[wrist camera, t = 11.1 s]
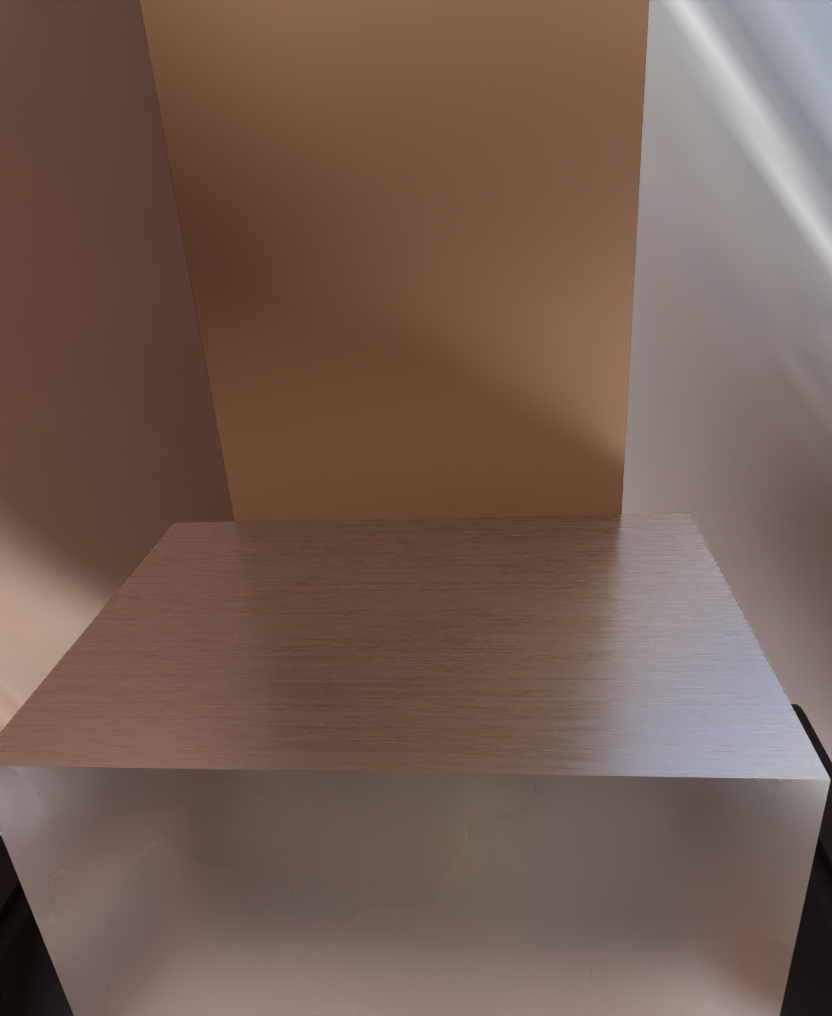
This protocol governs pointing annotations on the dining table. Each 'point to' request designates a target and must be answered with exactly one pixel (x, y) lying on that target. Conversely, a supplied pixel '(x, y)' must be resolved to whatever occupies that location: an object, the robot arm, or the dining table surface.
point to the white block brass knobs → (416, 778)
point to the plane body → (409, 247)
